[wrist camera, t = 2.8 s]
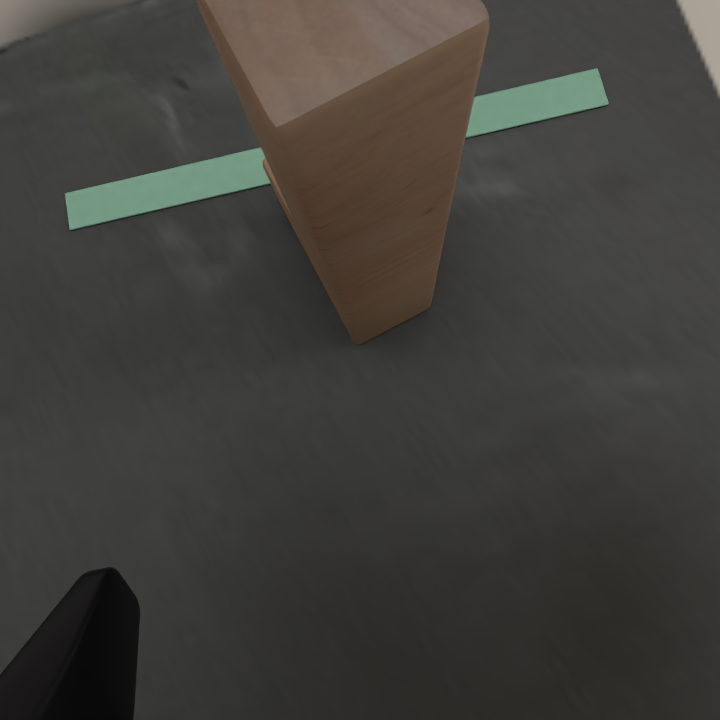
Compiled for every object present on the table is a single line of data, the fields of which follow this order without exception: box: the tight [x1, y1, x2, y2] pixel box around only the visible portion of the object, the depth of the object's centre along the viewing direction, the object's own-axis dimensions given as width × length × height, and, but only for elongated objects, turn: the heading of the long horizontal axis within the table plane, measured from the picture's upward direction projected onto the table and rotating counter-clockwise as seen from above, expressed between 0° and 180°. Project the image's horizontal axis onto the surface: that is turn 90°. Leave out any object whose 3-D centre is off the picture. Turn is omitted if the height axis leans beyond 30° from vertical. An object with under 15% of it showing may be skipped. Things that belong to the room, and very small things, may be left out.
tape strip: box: [65, 69, 609, 230], centre depth 24 cm, size 22×2×1 cm, turn 102°
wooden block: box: [195, 0, 490, 345], centre depth 15 cm, size 7×3×15 cm, turn 27°
